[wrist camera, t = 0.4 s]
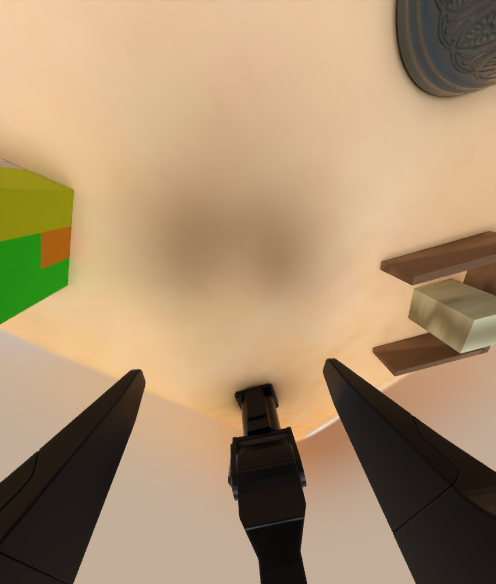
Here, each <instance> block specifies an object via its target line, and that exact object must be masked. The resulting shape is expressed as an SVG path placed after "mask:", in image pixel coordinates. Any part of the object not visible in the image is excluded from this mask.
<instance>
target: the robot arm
mask: <svg viewBox="0 0 496 584" xmlns="http://www.w3.org/2000/svg"><path fill="white" fill-rule="evenodd" d="M323 374H324V377H325V380H326V383H327V386H328V389H329V392H330V395H331V398H332V400H333V403H334V406H335V408H336V410H337V412H338V415H339V417H340V419H341V421H342V423H343V425H344V428H345V430H346V432H347V434H348V436H349V438H350V441H351V443H352V445H353V447H354V449H355V452H356V454H357V456H358V458H359V460H360V463H361V465H362V467H363V469H364V471H365V473H366V475H367V478H368V480H369V482H370V484H371V487H372V488H373V491H374V493H375V495H376V497H377V500H378V502H379V504H380V506H381V508H382V511H383V513H384V515H385V517H386V519H387V521H388V524H389V526H390V528H391V530H392V532H393V535H394V537H395V539H396V541H397V544H398V546H399V548H400V550H401V552H402V554H403V557H404V559H405V561H406V563H407V565H408V568H409V570H410V572H411V574H412V576H413V578H414V581H415V583H416V584H496V472H495V471H493V470H492V469H490V468H489V467H487V466H486V465H484V464H483V463H481V462H480V461H478V460H477V459H475V458H474V457H472V456H471V455H469V454H468V453H466V452H465V451H463V450H461V449H460V448H459V447H457V446H455V445H454V444H453V443H451V442H450V441H448V440H447V439H445V438H444V437H442V436H441V435H439V434H438V433H436V432H435V431H434V430H432V429H431V428H429V427H428V426H427V425H425V424H424V423H422V422H421V421H420V420H418V419H417V418H416V417H414V416H412V415H411V414H410V413H409V412H407V411H406V410H405V409H403V408H402V407H401V406H399V405H398V404H397V403H395V402H394V401H392V400H391V399H390V398H388V397H387V396H386V395H384V394H383V393H382V392H380V391H379V390H378V389H376V388H375V387H373V386H372V385H371V384H369V383H368V382H367V381H365V380H364V379H363V378H361V377H360V376H358V375H357V374H356V373H354V372H353V371H352V370H350V369H349V368H348V367H346V366H345V365H344V364H342V363H341V362H339V361H338V360H337V359H335V358H329V359H326V362H325V365H324V368H323ZM144 388H145V378H144V375H143V372H142V370H141V369H134V370H131V371H129V372H128V373H127V374H126V375H125V376H123V377H122V378H121V379H120V380H119V381H118V382H116V383H115V384H114V385H113V386H112V387H111V388H110V389H108V390H107V391H106V392H105V393H104V394H103V395H102V396H100V397H99V398H98V399H97V400H96V401H95V402H93V403H92V404H91V405H90V406H89V407H88V408H87V409H85V410H84V411H83V412H82V413H81V414H80V415H78V417H76V418H75V419H74V420H73V421H72V422H70V423H69V424H68V425H67V426H66V427H65V428H63V429H62V430H61V431H60V432H59V433H58V434H57V435H55V436H54V437H53V438H52V439H51V440H50V441H48V442H47V443H46V444H45V445H44V446H43V447H42V448H40V450H39V451H37V452H36V453H35V454H33V455H32V456H31V457H30V458H29V459H28V460H26V461H25V462H24V463H23V464H22V465H21V466H19V467H18V468H17V469H16V470H15V471H13V472H12V473H11V474H10V475H9V476H8V477H6V478H5V479H4V480H3V481H2V482H0V584H73V583H74V580H75V577H76V575H77V573H78V570H79V567H80V565H81V562H82V559H83V557H84V554H85V552H86V549H87V546H88V544H89V541H90V538H91V536H92V533H93V531H94V528H95V525H96V523H97V520H98V518H99V515H100V513H101V510H102V507H103V504H104V502H105V499H106V497H107V494H108V492H109V489H110V486H111V484H112V481H113V478H114V476H115V473H116V471H117V468H118V466H119V463H120V460H121V458H122V455H123V452H124V450H125V447H126V445H127V442H128V439H129V437H130V434H131V432H132V429H133V426H134V423H135V420H136V417H137V413H138V410H139V406H140V402H141V399H142V395H143V392H144ZM235 398H236V400H237V402H238V404H239V406H240V408H241V410H242V420H243V434H244V436H242V437H233V443H232V444H231V459H230V467H229V476H228V483H229V485H230V486H231V487H232V491H233V495H234V499H235V501H236V500H238V506H239V517H240V520H241V522H242V524H243V527H244V529H245V531H246V533H247V535H248V538H249V540H250V542H251V544H252V546H253V549H254V551H255V553H256V555H257V557H258V560H259V569H260V579H261V584H307V581H306V576H305V571H304V566H303V561H302V556H301V542H302V533H303V525H304V517H305V509H306V503H305V497H304V493H303V489H302V487H306V480H305V475H304V470H303V467H302V462H301V459H300V455H299V452H298V449H297V446H296V443H295V439H294V436H293V433H292V430H291V427H287V428H284V429H281V428H280V424H279V419H278V415H277V411H276V408H277V407H278V406H279V405H278V402H277V399H276V396H275V393H274V390H273V387H272V385H271V384H268V385H264V386H260V387H257V388H253V389H249V390H245V391H242V392H238V393H236V394H235Z"/></svg>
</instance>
